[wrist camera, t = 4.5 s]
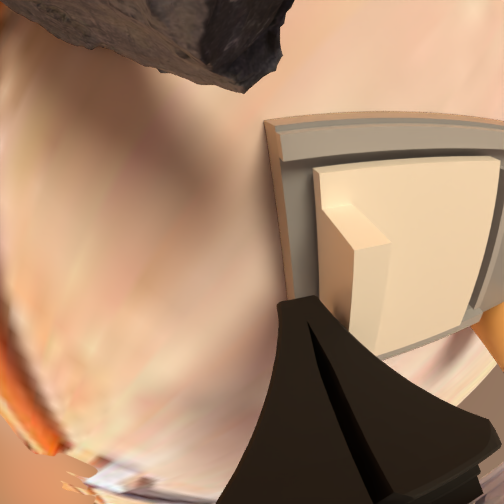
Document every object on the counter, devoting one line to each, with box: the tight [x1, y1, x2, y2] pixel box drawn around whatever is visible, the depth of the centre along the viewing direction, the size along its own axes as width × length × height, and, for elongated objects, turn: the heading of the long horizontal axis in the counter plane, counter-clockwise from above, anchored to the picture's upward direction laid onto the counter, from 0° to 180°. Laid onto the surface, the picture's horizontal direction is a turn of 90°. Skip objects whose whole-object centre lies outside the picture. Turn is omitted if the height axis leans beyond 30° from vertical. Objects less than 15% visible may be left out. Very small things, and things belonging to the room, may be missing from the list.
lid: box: [312, 156, 500, 356], centre depth 9 cm, size 9×8×3 cm
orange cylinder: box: [470, 302, 504, 372], centre depth 14 cm, size 4×4×7 cm
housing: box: [264, 111, 504, 361], centre depth 12 cm, size 12×20×3 cm, turn 99°
